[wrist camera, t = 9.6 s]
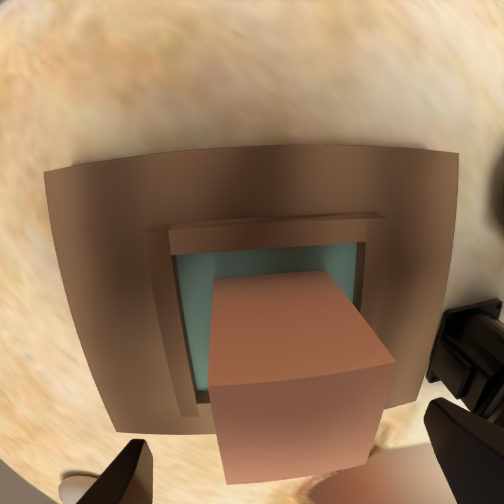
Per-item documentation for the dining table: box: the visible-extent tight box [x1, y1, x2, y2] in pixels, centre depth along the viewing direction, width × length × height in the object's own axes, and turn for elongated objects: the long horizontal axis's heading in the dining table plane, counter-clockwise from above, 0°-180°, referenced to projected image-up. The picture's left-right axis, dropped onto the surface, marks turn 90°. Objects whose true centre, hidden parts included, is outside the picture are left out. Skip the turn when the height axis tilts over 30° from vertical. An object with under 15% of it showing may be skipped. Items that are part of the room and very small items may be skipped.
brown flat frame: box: [44, 145, 459, 435], centre depth 16 cm, size 20×16×4 cm
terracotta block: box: [208, 270, 396, 485], centre depth 12 cm, size 5×5×7 cm
